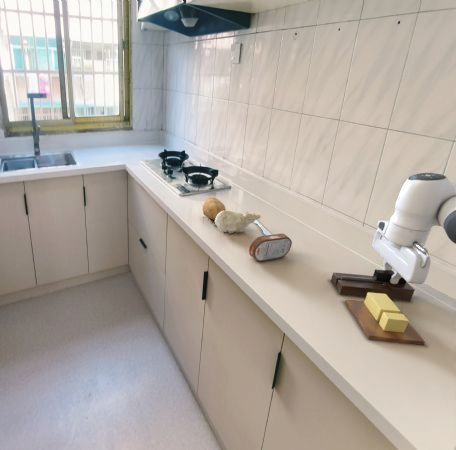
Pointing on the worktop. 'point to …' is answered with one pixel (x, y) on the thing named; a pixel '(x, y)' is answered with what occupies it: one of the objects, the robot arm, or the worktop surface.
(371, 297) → the butter
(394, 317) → the butter pat
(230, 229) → the cream lumpy tapered piece
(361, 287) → the knife stand
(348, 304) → the board
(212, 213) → the potato
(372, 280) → the knife
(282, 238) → the tin
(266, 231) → the butter knife
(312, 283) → the worktop surface
